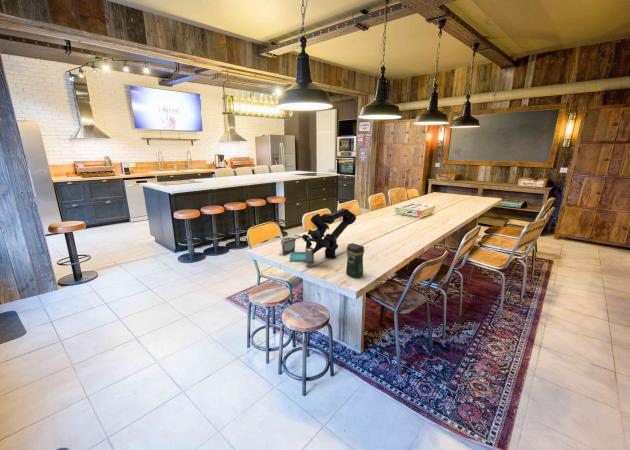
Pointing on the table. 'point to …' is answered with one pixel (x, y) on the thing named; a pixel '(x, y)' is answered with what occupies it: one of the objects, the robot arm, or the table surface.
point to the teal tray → (297, 257)
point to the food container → (288, 245)
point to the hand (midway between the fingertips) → (309, 252)
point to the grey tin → (309, 255)
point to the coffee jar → (355, 260)
